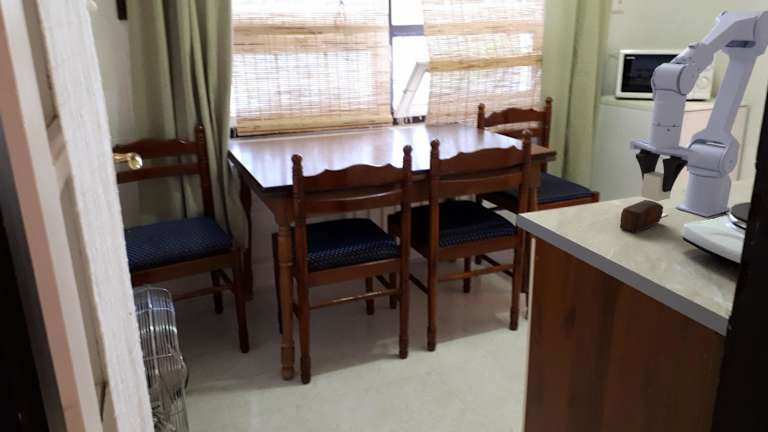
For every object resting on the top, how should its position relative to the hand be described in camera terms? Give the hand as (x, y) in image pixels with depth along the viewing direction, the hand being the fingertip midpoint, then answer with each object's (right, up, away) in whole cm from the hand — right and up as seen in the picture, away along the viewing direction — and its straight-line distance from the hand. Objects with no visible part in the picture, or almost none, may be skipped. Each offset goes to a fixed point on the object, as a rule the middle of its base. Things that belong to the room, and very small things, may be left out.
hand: (656, 188), depth 125 cm
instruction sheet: (+1, -6, +9) cm, 11 cm away
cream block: (0, -2, +1) cm, 2 cm away
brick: (-2, -8, +3) cm, 9 cm away
